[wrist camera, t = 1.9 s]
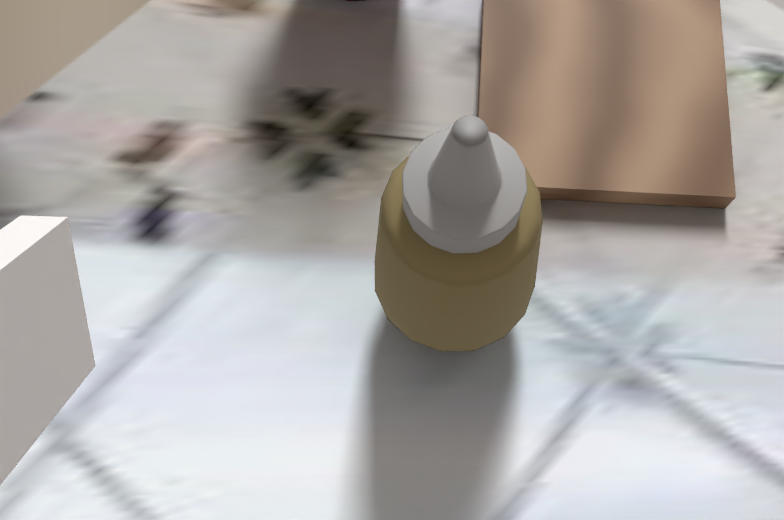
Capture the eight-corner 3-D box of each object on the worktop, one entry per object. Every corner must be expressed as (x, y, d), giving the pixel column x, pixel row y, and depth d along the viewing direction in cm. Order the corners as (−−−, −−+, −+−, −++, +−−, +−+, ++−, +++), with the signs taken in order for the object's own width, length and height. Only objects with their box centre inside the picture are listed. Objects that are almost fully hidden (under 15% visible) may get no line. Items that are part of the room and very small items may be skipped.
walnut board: (474, 195, 43) (476, 183, 42) (483, -7, 48) (485, -23, 46) (725, 208, 42) (735, 197, 41) (709, 1, 47) (718, -16, 45)
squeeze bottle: (543, 349, 40) (631, 217, 23) (395, 382, 40) (372, 274, 23) (503, 212, 43) (556, 4, 26) (364, 242, 42) (323, 52, 25)
